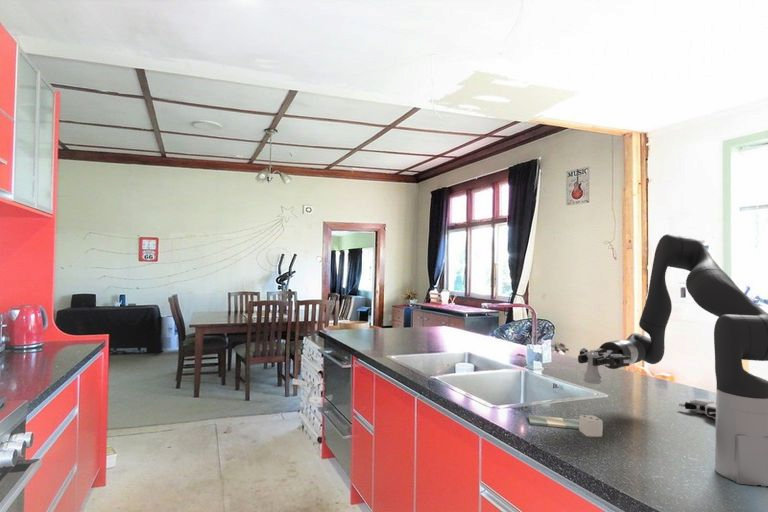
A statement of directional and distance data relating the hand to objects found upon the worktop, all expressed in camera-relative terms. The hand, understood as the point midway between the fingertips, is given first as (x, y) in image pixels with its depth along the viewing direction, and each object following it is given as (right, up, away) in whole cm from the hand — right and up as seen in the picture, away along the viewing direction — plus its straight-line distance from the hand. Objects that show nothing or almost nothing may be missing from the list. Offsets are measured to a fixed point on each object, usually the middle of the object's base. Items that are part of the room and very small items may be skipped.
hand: (587, 360), depth 122 cm
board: (-5, -18, +2) cm, 19 cm away
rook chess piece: (+2, -6, +2) cm, 7 cm away
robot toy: (+43, -20, +13) cm, 49 cm away
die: (-1, -18, -4) cm, 18 cm away
